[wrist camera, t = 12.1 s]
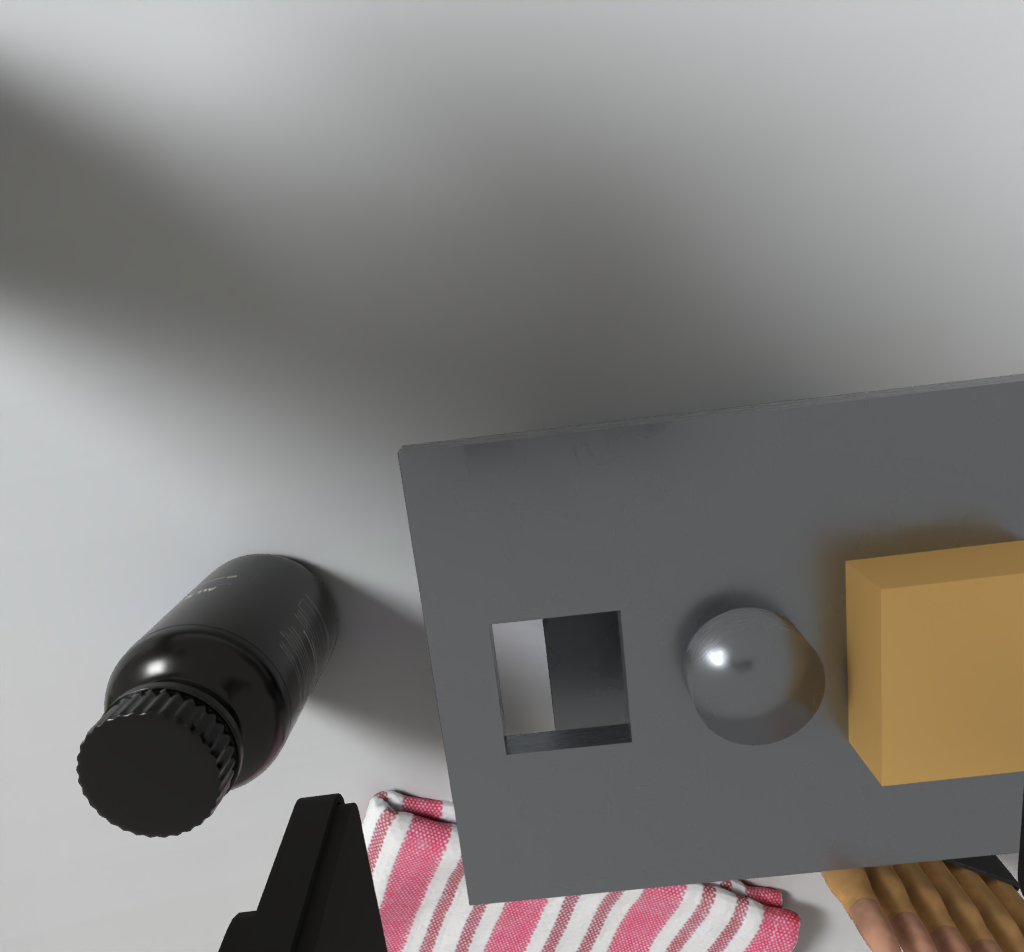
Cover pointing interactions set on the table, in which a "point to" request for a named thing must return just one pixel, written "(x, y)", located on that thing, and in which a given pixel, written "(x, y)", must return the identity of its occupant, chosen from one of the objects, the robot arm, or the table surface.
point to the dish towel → (547, 901)
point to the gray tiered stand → (698, 634)
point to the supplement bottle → (208, 695)
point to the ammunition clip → (934, 905)
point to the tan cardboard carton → (937, 662)
